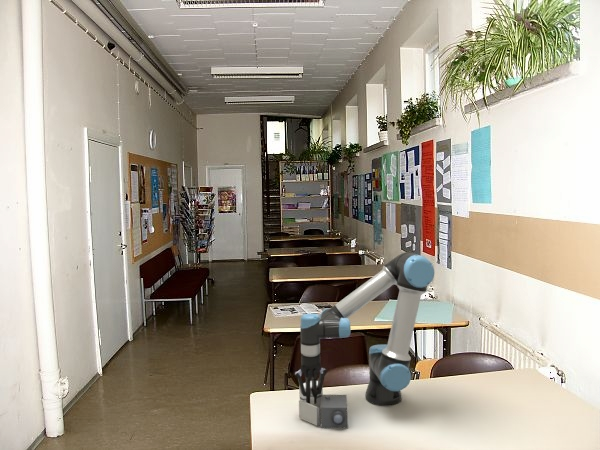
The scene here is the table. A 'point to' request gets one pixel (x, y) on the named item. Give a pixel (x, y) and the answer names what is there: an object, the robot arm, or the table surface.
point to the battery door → (309, 413)
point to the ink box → (303, 398)
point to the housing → (334, 411)
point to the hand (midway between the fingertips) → (311, 411)
